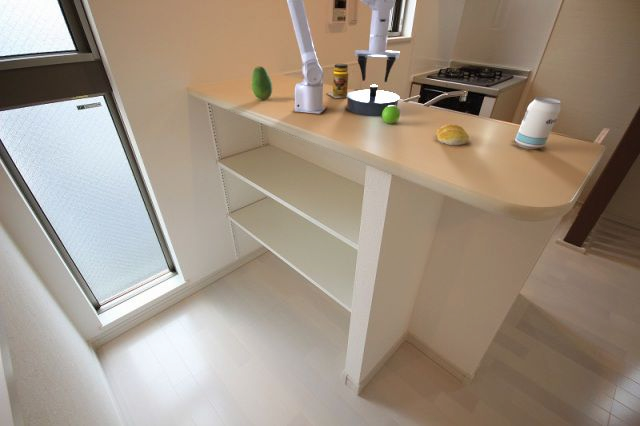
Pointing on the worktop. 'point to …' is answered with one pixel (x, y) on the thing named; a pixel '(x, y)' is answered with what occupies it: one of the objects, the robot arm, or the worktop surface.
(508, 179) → the worktop surface
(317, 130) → the worktop surface
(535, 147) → the beverage can
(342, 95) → the condiment
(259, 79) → the fruit
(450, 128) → the bread roll
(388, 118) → the lime
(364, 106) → the pot
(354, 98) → the lid
